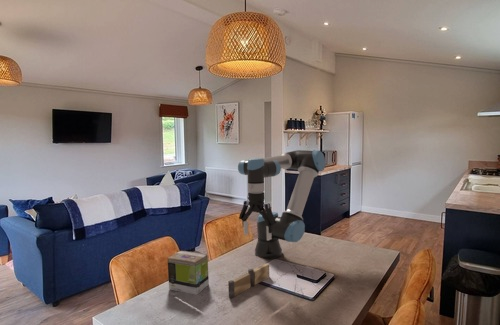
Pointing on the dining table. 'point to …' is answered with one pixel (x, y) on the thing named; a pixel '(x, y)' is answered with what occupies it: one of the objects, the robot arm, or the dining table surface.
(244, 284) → the fixed fence panel
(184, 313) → the dining table surface
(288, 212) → the robot arm
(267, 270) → the swing panel
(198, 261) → the tea box
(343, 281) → the dining table surface
